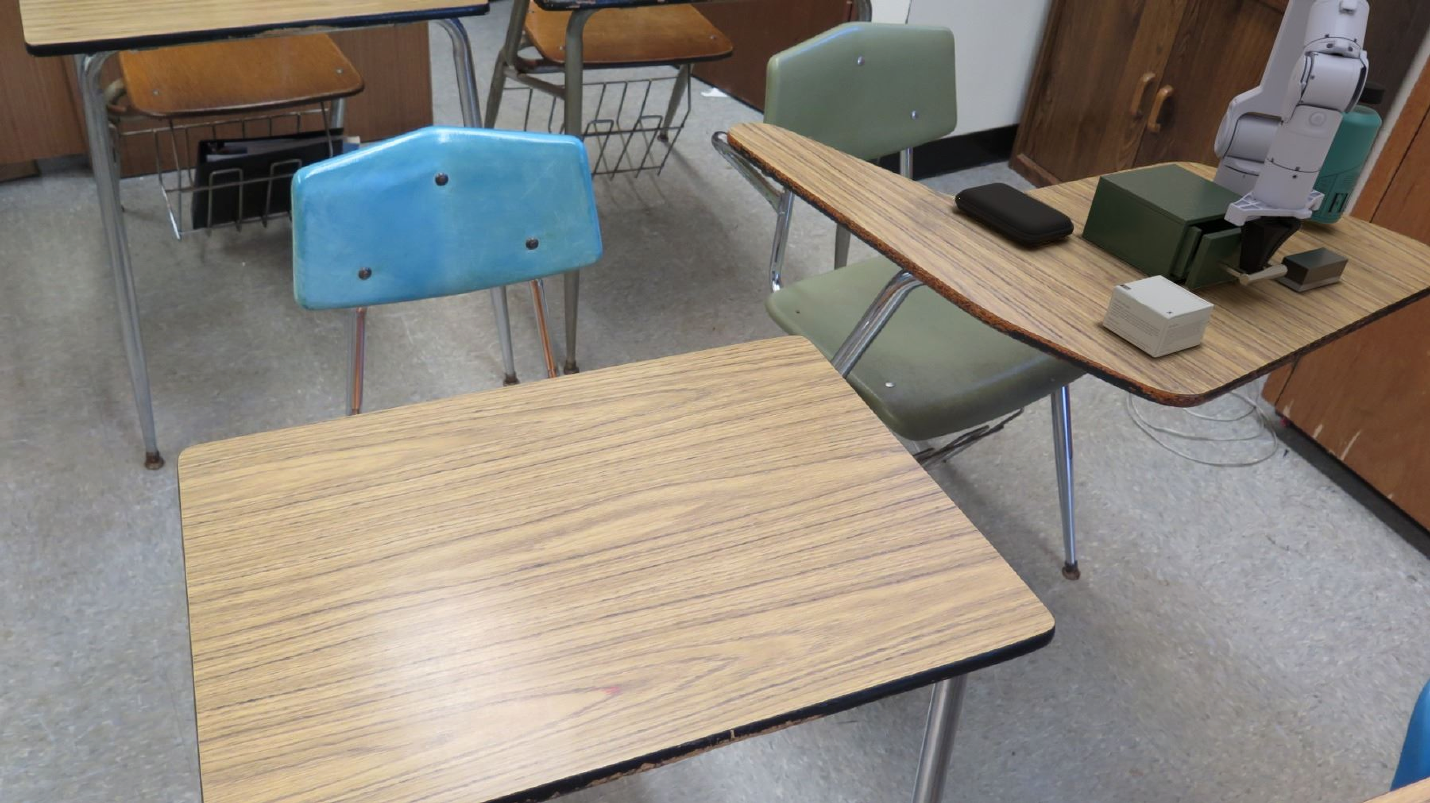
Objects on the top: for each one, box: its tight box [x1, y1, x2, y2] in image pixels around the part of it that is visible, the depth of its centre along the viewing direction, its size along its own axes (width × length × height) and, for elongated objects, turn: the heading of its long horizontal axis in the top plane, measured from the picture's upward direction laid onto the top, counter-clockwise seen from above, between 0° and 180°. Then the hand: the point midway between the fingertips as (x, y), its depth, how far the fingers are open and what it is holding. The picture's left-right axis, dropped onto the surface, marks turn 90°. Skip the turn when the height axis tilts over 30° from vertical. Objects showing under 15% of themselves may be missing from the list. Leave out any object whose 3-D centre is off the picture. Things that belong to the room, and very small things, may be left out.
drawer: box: [1171, 218, 1287, 290], centre depth 133 cm, size 18×13×7 cm
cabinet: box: [1081, 163, 1243, 283], centre depth 137 cm, size 14×14×8 cm
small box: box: [1102, 275, 1215, 358], centre depth 119 cm, size 8×8×5 cm
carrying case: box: [954, 182, 1075, 248], centre depth 142 cm, size 11×3×15 cm
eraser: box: [1274, 246, 1349, 293], centre depth 135 cm, size 8×4×3 cm, turn 119°
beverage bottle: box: [1305, 80, 1387, 225], centre depth 146 cm, size 6×7×20 cm
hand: (1249, 270), depth 129 cm, fingers closed
